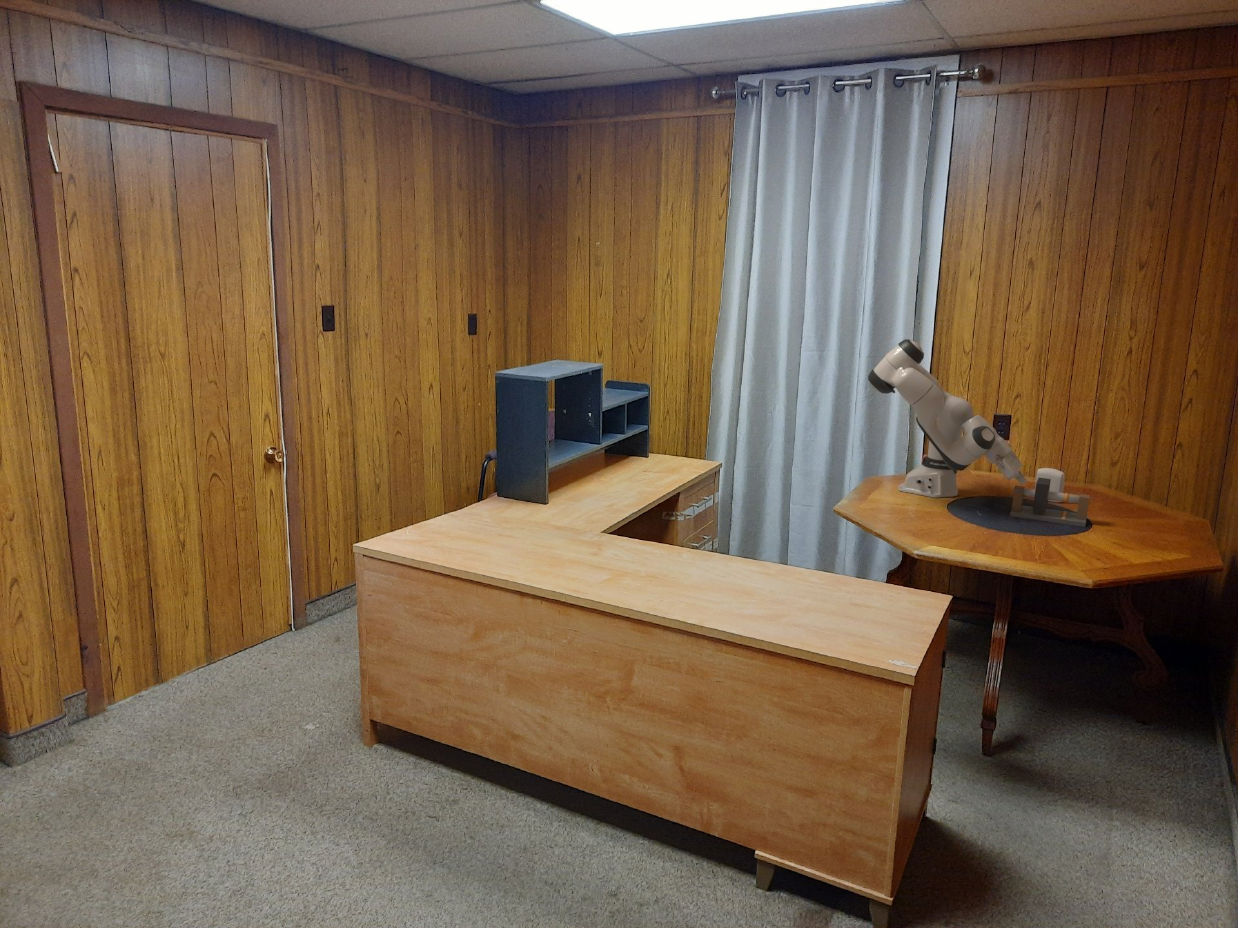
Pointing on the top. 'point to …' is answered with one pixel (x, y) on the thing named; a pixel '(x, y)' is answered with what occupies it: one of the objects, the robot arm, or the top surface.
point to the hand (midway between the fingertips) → (1024, 482)
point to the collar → (1041, 494)
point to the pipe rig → (1049, 514)
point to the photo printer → (1052, 479)
